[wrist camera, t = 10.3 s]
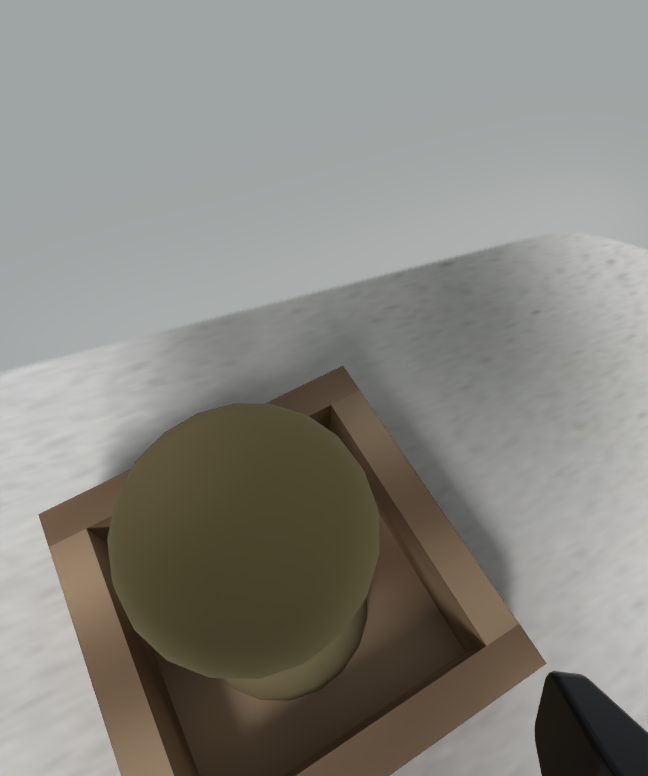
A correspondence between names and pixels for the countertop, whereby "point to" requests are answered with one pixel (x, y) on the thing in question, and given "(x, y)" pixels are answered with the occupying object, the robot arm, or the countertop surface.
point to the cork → (248, 549)
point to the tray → (361, 675)
